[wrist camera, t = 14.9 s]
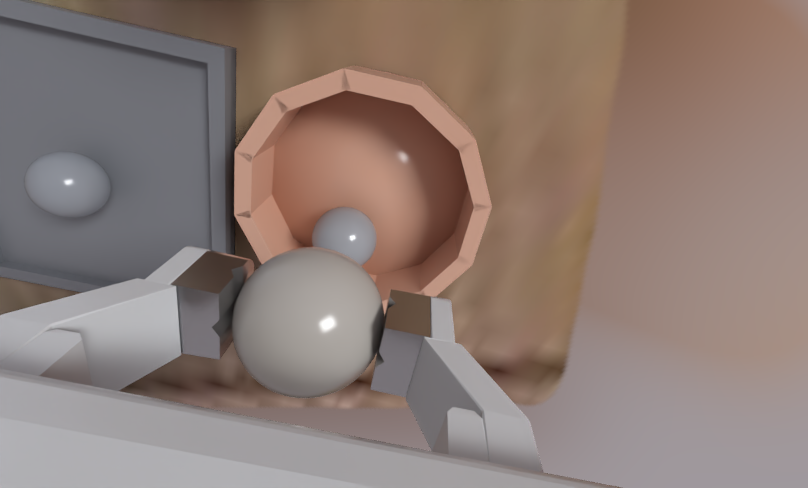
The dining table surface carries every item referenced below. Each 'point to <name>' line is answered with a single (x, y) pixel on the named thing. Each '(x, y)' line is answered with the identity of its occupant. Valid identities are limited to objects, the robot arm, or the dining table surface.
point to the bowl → (366, 175)
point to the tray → (113, 144)
